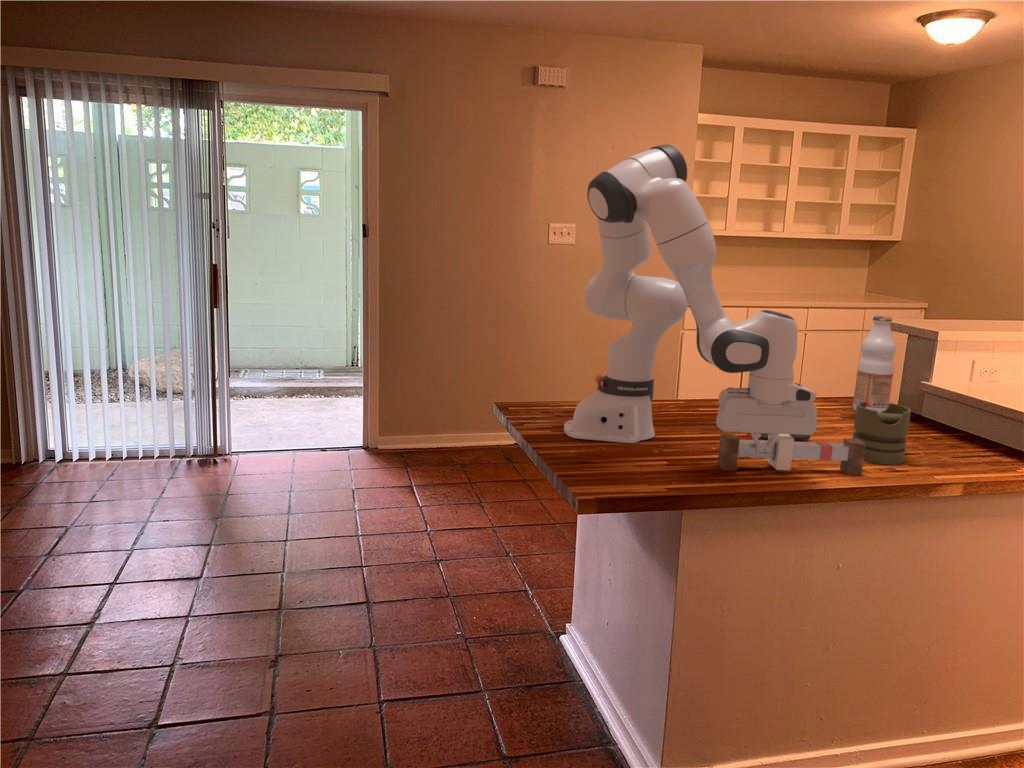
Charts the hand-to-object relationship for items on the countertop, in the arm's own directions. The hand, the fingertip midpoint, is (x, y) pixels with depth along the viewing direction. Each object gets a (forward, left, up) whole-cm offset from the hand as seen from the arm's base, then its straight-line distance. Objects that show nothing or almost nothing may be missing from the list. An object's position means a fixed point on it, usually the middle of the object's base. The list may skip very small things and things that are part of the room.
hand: (762, 452), depth 164 cm
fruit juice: (+51, +61, -5) cm, 80 cm away
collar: (+5, +3, -5) cm, 8 cm away
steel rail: (+7, +3, -2) cm, 8 cm away
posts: (+7, +3, -5) cm, 9 cm away
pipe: (+14, +28, -5) cm, 32 cm away
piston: (+32, +16, -5) cm, 36 cm away
